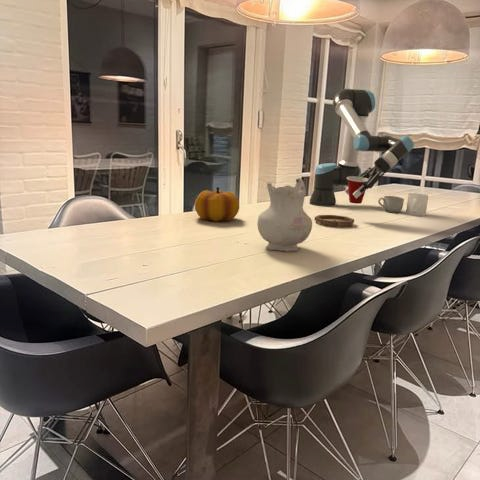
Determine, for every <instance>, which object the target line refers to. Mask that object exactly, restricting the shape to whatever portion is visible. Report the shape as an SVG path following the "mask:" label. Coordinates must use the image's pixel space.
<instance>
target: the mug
mask: <svg viewBox="0 0 480 480" xmlns="http://www.w3.org/2000/svg"><path fill="white" fill-rule="evenodd" d="M428 200H429V195H428V194H424V193H416V192H415V193H412V192H411V193H408V195H407V202H406V209H405V210H406V211H405V213H406V214H407V215H411V216H417V217H418V216H419V217H425V216H426V215H427V208H428V202H429V201H428Z"/></svg>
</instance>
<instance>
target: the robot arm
mask: <svg viewBox="0 0 480 480" xmlns="http://www.w3.org/2000/svg"><path fill="white" fill-rule="evenodd" d="M332 106H333V107H332V108H333V110H334V112H335V113H336V115H338V116H340V117H341V119H342V121H343V123H344V124H345V126H346V127H347V130H346V134H345V140H344V147H343V152H342V157H341V159H340V160H339V161H338V164H336V163H334V162H331V163H330V162H329V163H321V164H320V163H319V164H317V165H315V169H314V180H313V181H314V182H313V191H312V193H311V195H310V198H309V204H310V205H313V206H320V207H334V206H336V205H337V200H336V196H335V195H336V194H335V187H347V188H346V189H345V190H344V193H346V195H348V196H349V190H348V180H347V177H350V176H355V177H363V178H367V179H368V180H367V182H366V183H363V184H364V185H362V186H361V187H360V188H359V189H358V190H356V191H355V192H354V193H353V195H354V197H355V198H358V197H359V196H360V195H361V194H362V193H363V192H364V191H365V192H366V191H367V190H368V189H370V190H371V189H372V188H373V187H374V186H375V184H377V182H378V181H379V180H380V179H381V178H382V177H383V176H384V175H385V174H386V173H388V172H389V170H391V168H393V167H394V166H396V165H397V163H399V161H401V160H402V159H403V158H404V157H405V156H406V155H408V154H409V153H410V152H411V150H412V149H414V146H415V142H414V141H413V140H412V138H410V137H409V136H408V135H402V136H401V137H399V138H397V137H393V136H391V135H387V134H384V135H381V136H380V135H372V134H371V132H370V131H369V130H368V129H367V127H366V126H365V121H366V119H367V118H369V114H370V113H373V111H374V110H375V108H376V97H375V94H374V93H373V92H372V91H371V90H366V89H356V88H355V89H352V88H344V89H340V90H339V91H337V93H336V94H335V95H334V96H333V100H332ZM360 152H375V153H376V152H377V153H378V152H379V153H381V152H382V154H381V155H380V157H378V158H377V159H376V160H375V161H374V166H373V167H371V166H369V167H367V168H366V170H364V171H362V169H361V167H360V164H359V163H358V158H359V153H360Z"/></svg>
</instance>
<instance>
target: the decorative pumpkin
mask: <svg viewBox="0 0 480 480" xmlns="http://www.w3.org/2000/svg"><path fill="white" fill-rule="evenodd" d="M194 201H195V202H194V209H195V213H196V214H197V215H198V216H199V217H200V219H203V220H205V221H211V222H212V221H213V222H215V223H217V222H221V221H223V222H229V221H231V220H233V219H234V218H235V217H236V216H237V215H238V212H239V211H240V200H239V199H238V197H237V195H236V194H235V193H234V192H233V191H228V190H227V191H222V190H220V187H218V186H217V187H216V190H213V191H211V190H202V191H201V192H200V193H199V194H198V195H197V197H196V199H195V200H194Z"/></svg>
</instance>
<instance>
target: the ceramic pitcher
mask: <svg viewBox="0 0 480 480" xmlns="http://www.w3.org/2000/svg"><path fill="white" fill-rule="evenodd" d="M295 181H296V183H295V185H294V186H291V185H289V184H288V185H284V186H282V187H281V186H279V187H276V186H274V185H273V184H272V183H273V181H269V182H267V183H266V187H267V192H268V194H269V201H270V204H269V206H268V208H266V209H265V210H264V211H262V212H261V213H260V214H259V215H258V216H257V217H258V218H257V223H256V224H257V230H258V233H259V234H260V236H261V238H262V239H263V240H264V241H266V242H268V244H267V245H266V246H265V250H269V251H282V252H290V253H291V252H297V251H300V250H299V247H298V245H299V244H301V243H304V242H305V241H306V240H307V239H308V238H309V236H310V234H311V233H312V232H311V231H312V228H313V219H311V217H310V216H309V215H308V214H307V213H306V212H305V210H304V208H303V207H304V203H305V197H306V196H307V194H306V185H305V183H304V181H303V179H302V178H300V177H299V178H296V179H295Z"/></svg>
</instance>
